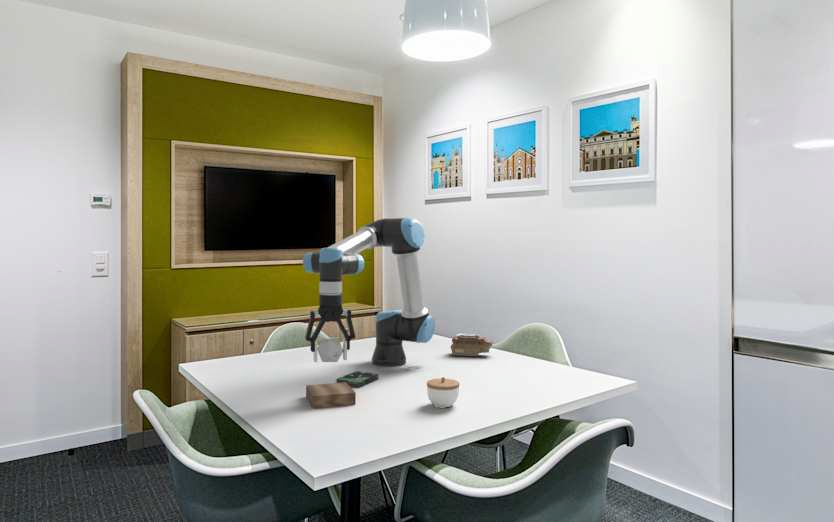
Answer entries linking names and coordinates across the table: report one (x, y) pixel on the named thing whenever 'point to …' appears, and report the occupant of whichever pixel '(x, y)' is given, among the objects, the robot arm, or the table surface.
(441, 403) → the lidded jar
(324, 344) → the die
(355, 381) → the disk drive
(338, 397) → the walnut base
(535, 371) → the table surface
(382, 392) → the table surface
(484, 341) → the decorative box
